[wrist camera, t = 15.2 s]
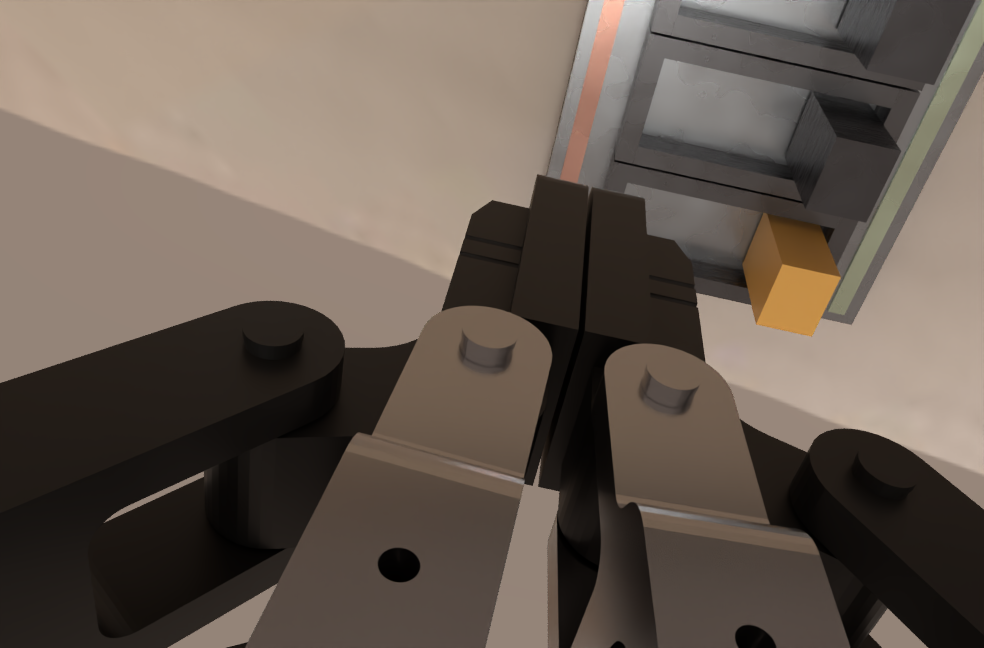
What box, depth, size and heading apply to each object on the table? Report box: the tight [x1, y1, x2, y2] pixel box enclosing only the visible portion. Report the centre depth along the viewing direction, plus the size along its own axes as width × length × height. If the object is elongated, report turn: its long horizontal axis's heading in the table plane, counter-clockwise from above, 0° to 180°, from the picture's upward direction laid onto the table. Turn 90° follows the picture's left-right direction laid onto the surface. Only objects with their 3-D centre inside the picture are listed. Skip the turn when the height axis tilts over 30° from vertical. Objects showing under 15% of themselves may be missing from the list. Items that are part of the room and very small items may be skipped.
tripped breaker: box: [742, 213, 841, 336], centre depth 37 cm, size 2×3×5 cm
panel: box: [546, 0, 984, 325], centre depth 35 cm, size 16×18×7 cm
